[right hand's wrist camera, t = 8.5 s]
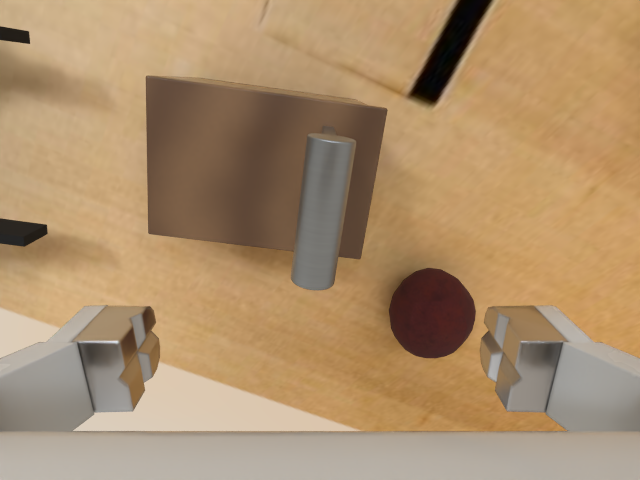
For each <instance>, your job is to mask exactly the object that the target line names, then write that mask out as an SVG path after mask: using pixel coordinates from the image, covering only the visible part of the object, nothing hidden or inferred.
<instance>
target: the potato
mask: <svg viewBox="0 0 640 480" xmlns="http://www.w3.org/2000/svg"><path fill="white" fill-rule="evenodd" d="M475 312H476V311H475V306H474V301H473V299H472V297H471V295H470V294H469V292H468V291H467V289H466V288H465V287H464V286H463V285H462V283H461V282H460V281H459V280H458V279H457V278H455V277H454V276H452V275H450V274H448V273H446V272H445V271H443V270H440V269H432V268H426V269H423V270H419V271H416V272H414V273H413V274H412V275H410V276H409V277H407V278H406V279H405V280H404V281H403V282H402V283H401V285H400V286H399V287H398V288H397V290H396V291H395V293H394V295H393V297H392V301H391V304H390V308H389V314H390V322H391V329H392V331H393V333H394V336H395V337H396V339H397V340H398V342H399V343H400V344H401V345H402V346H403V348H404V349H405V350H407V351H408V352H410V353H412V354H413V355H416V356H419V357H423V358H439V357H444V356H447V355H449V354H451V353H453V352H454V351H456V350H457V349H458V348H459V347H460V346H461V345H462V344H463V343H464V341H465V340H466V339H467V338H468V336H469V334H470V333H471V331H472V329H473V325H474V321H475Z"/></svg>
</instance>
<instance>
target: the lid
mask: <svg viewBox="0 0 640 480" xmlns="http://www.w3.org/2000/svg"><path fill="white" fill-rule="evenodd" d="M146 115H147V176H148V233H149V234H154V235H162V236H170V237H179V238H187V239H195V240H204V241H212V242H220V243H229V244H237V245H245V246H254V247H262V248H270V249H279V250H287V251H294V254H293V263H292V271H291V280H292V281H293V283H294V284H296V285H297V286H299V287H302V288H305V289H309V290H325V289H328V288H330V287H332V286H333V284H334V280H335V274H336V268H337V261H338V257H345V258H354V259H360V258H361V254H362V249H363V243H364V237H365V232H366V226H367V221H368V215H369V210H370V204H371V198H372V193H373V187H374V182H375V176H376V171H377V165H378V159H379V154H380V148H381V143H382V137H383V132H384V126H385V121H386V115H387V109H386V108H382V107H375V106H368V105H361V104H353V103H346V102H339V101H332V100H324V99H317V98H310V97H303V96H295V95H288V94H281V93H273V92H266V91H259V90H252V89H244V88H237V87H230V86H223V85H215V84H208V83H201V82H194V81H186V80H179V79H172V78H165V77H157V76H146Z"/></svg>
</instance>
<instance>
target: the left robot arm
mask: <svg viewBox="0 0 640 480" xmlns="http://www.w3.org/2000/svg"><path fill="white" fill-rule="evenodd" d="M0 40H5V41H12V42H20V43H27V44H30V38H29V31H23V30H18V29H12V28H6V27H1V26H0ZM46 234H48V233H47V225H44V224H37V223H30V222H22V221H15V220H7V219H0V243H1V244H9V245H17V246H24V247H25V246H26V245H28V244H30V243H32V242H34V241H35V240H37V239H39V238H41V237H43V236H45V235H46Z"/></svg>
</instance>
